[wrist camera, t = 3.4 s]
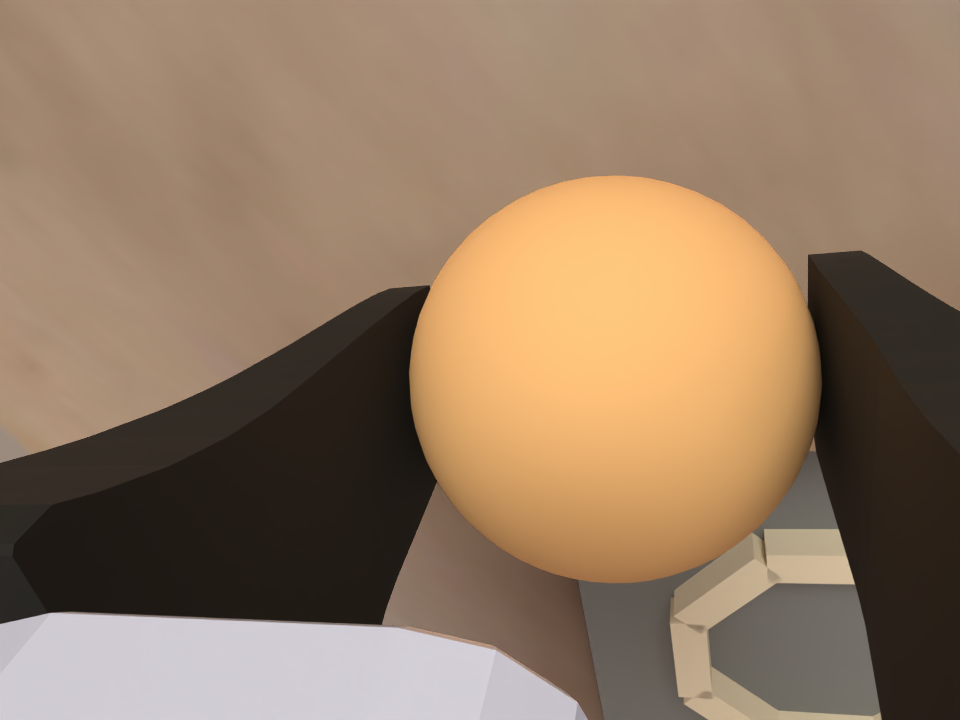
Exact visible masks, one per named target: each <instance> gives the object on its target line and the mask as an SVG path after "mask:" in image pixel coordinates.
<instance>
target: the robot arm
mask: <svg viewBox="0 0 960 720" xmlns="http://www.w3.org/2000/svg"><path fill="white" fill-rule="evenodd" d="M429 292H430V285H428V286H416V287H403V288H391V289H388V290H385V291H383V292H380V293H378V294H376V295H374V296H372V297H370V298H368V299H366V300H364V301H362V302H360V303H359V304H357V305H355V306H353V307H352V308H350V309H348V310H346V311H345V312H343V313H341V314H340V315H338V316H336V317H335V318H333V319H331V320H330V321H328V322H327V323H325V324H323V325H322V326H320V327H318V328H317V329H315V330H313V331H312V332H310V333H308V334H307V335H305V336H303V337H302V338H300V339H298V340H297V341H295V342H294V343H292V344H290V345H288V346H287V347H285V348H283V349H281V350H279V351H278V352H276V353H274V354H272V355H271V356H269V357H267V358H265V359H263V360H262V361H260V362H258V363H256V364H255V365H253V366H251V367H249V368H247V369H246V370H244V371H242V372H240V373H238V374H237V375H235V376H233V377H231V378H229V379H227V380H225V381H223V382H221V383H219V384H217V385H215V386H213V387H211V388H209V389H207V390H205V391H203V392H200V393H198V394H196V395H194V396H192V397H189V398H187V399H185V400H183V401H180V402H178V403H176V404H174V405H172V406H169V407H167V408H164V409H162V410H160V411H157V412H155V413H152V414H149V415H147V416H144V417H141V418H139V419H136V420H133V421H131V422H128V423H125V424H122V425H120V426H117V427H114V428H112V429H109V430H106V431H104V432H101V433H98V434H96V435H93V436H90V437H87V438H84V439H81V440H78V441H75V442H71V443H68V444H65V445H62V446H58V447H55V448H52V449H49V450H46V451H42V452H38V453H35V454H31V455H28V456H24V457H20V458H17V459H13V460H10V461H6V462H2V463H0V720H588V719H587V717H586V716H585V714H584V712H583V711H582V709H581V707H580V706H579V704H578V702H577V701H575V700H574V699H573V698H572V697H571V696H570V695H569V694H567V693H566V692H565V691H564V690H562V689H561V688H559V687H558V686H556V685H554V684H553V683H551V682H550V681H548V680H547V679H545V678H543V677H542V676H540V675H539V674H537V673H536V672H534V671H533V670H531V669H529V668H528V667H526V666H525V665H523V664H522V663H520V662H519V661H517V660H515V659H514V658H512V657H511V656H509V655H508V654H506V653H505V652H503V651H501V650H500V649H498V648H497V647H495V646H493V645H489V644H485V643H480V642H476V641H471V640H467V639H463V638H458V637H454V636H449V635H445V634H441V633H436V632H432V631H427V630H423V629H419V628H414V627H410V626H395V625H382V622H383V618H384V614H385V611H386V608H387V605H388V602H389V599H390V596H391V594H392V591H393V588H394V585H395V582H396V580H397V577H398V575H399V572H400V570H401V568H402V565H403V563H404V560H405V558H406V555H407V553H408V551H409V548H410V546H411V543H412V541H413V539H414V536H415V534H416V531H417V529H418V526H419V524H420V522H421V519H422V517H423V514H424V512H425V510H426V507H427V505H428V502H429V500H430V497H431V495H432V492H433V490H434V487H435V485H436V482H437V480H436V478H435V476H434V474H433V472H432V470H431V468H430V467H429V465H428V463H427V461H426V458H425V455H424V452H423V450H422V447H421V444H420V441H419V438H418V435H417V432H416V429H415V424H414V419H413V414H412V409H411V398H410V379H409V369H410V359H411V350H412V344H413V338H414V333H415V330H416V326H417V322H418V318H419V315H420V312H421V310H422V308H423V305H424V303H425V301H426V299H427V296H428V294H429ZM808 309H809V311H810V314H811V316H812V319H813V321H814V326H815V330H816V334H817V338H818V342H819V349H820V358H821V372H822V392H821V402H820V410H819V417H818V423H817V427H816V430H815V434H814V441H815V448H816V454H817V457H818V461H819V464H820V468H821V471H822V475H823V478H824V482H825V485H826V488H827V492H828V495H829V499H830V502H831V506H832V509H833V512H834V516H835V519H836V522H837V526H838V529H839V532H840V536H841V539H842V542H843V546H844V549H845V553H846V556H847V559H848V563H849V566H850V569H851V573H852V576H853V579H854V583H855V586H856V590H857V593H858V597H859V601H860V605H861V610H862V614H863V618H864V622H865V627H866V632H867V638H868V644H869V649H870V655H871V661H872V666H873V672H874V678H875V684H876V689H877V695H878V701H879V707H880V713H881V719H882V720H960V311H958V310H956V309H954V308H953V307H951V306H949V305H948V304H946V303H944V302H943V301H941V300H939V299H938V298H936V297H934V296H933V295H931V294H929V293H928V292H926V291H925V290H923V289H921V288H920V287H918V286H917V285H915V284H913V283H912V282H910V281H909V280H907V279H906V278H904V277H903V276H901V275H900V274H898V273H897V272H895V271H894V270H892V269H890V268H889V267H887V266H886V265H884V264H883V263H881V262H880V261H878V260H877V259H875V258H873V257H872V256H870V255H868V254H867V253H865V252H863V251H850V252H837V253H825V254H813V255H808Z"/></svg>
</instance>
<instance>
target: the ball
mask: <svg viewBox="0 0 960 720" xmlns="http://www.w3.org/2000/svg"><path fill="white" fill-rule="evenodd" d="M409 379H410V398H411V409H412V414H413V419H414V424H415V429H416V432H417V435H418V438H419V441H420V444H421V447H422V450H423V452H424V455H425V458H426V461H427V463H428V465H429V467H430V468H431V470H432V472H433V474H434V476H435V478H436V480H437V481H438V483H439V484H440V486H441V488H442V489H443V491H444V492H445V494H446V495H447V496H448V498H449V499H450V501H451V502H452V504H453V505H454V506H455V507H456V509H457V510H458V511H459V512H460V513H461V514H462V515H463V517H464V518H465V519H466V520H467V521H468V522H469V523H470V524H472V525H473V526H474V527H475V528H476V529H477V530H478V531H479V532H480V533H482V534H483V535H484V536H485V537H486V538H488V539H489V540H490V541H492V542H493V543H494V544H496V545H497V546H498V547H500V548H501V549H502V550H504V551H506V552H507V553H509V554H511V555H512V556H514V557H516V558H518V559H519V560H521V561H524V562H526V563H528V564H530V565H532V566H534V567H536V568H539V569H542V570H545V571H548V572H550V573H553V574H557V575H560V576H564V577H568V578H572V579H577V580H583V581H590V582H600V583H634V582H643V581H651V580H655V579H660V578H664V577H668V576H672V575H675V574H678V573H681V572H684V571H687V570H690V569H693V568H696V567H698V566H700V565H702V564H705V563H707V562H709V561H711V560H713V559H715V558H717V557H719V556H720V555H722V554H723V553H725V552H726V551H728V550H730V549H731V548H733V547H734V546H735V545H737V544H738V543H740V542H741V541H742V540H744V539H745V538H746V537H747V536H748V535H750V534H751V533H752V532H753V531H754V530H756V529H757V528H758V527H759V526H760V525H761V524H762V523H763V522H764V521H765V520H766V519H767V518H768V517H769V515H770V514H771V513H772V512H773V511H774V510H775V509H776V507H777V506H778V505H779V503H780V502H781V501H782V500H783V498H784V497H785V495H786V494H787V492H788V491H789V489H790V488H791V486H792V485H793V483H794V482H795V480H796V478H797V476H798V474H799V472H800V470H801V468H802V465H803V463H804V461H805V459H806V456H807V454H808V452H809V449H810V447H811V445H812V441H813V438H814V434H815V430H816V427H817V423H818V417H819V410H820V402H821V392H822V372H821V358H820V349H819V342H818V338H817V334H816V330H815V326H814V321H813V319H812V316H811V314H810V311H809V309H808V306H807V304H806V302H805V299H804V297H803V294H802V292H801V290H800V287H799V285H798V283H797V282H796V280H795V278H794V277H793V275H792V274H791V272H790V270H789V269H788V267H787V265H786V264H785V263H784V261H783V260H782V259H781V258H780V257H779V255H778V254H777V253H776V252H775V251H774V249H773V248H772V247H771V246H770V245H769V243H768V242H767V241H766V240H765V239H764V238H763V237H762V235H760V234H759V233H758V232H757V231H756V230H755V229H754V228H753V227H751V226H750V225H749V224H748V223H747V222H746V221H745V220H744V219H742V218H741V217H739V216H738V215H736V214H735V213H733V212H732V211H730V210H729V209H728V208H726V207H725V206H723V205H722V204H720V203H718V202H716V201H714V200H712V199H710V198H708V197H706V196H704V195H702V194H700V193H698V192H695V191H692V190H689V189H686V188H683V187H680V186H677V185H674V184H672V183H668V182H663V181H658V180H654V179H649V178H644V177H631V176H599V177H587V178H581V179H576V180H570V181H565V182H561V183H558V184H555V185H551V186H548V187H545V188H542V189H539V190H537V191H535V192H532V193H530V194H528V195H526V196H524V197H522V198H520V199H517V200H516V201H514V202H513V203H511V204H509V205H508V206H506V207H505V208H503V209H502V210H500V211H499V212H497V213H496V214H494V215H493V216H491V217H490V218H488V219H487V220H486V221H485V222H483V223H482V224H481V225H480V226H479V227H478V228H476V229H475V230H474V231H473V232H472V233H471V234H469V236H468V237H467V238H466V239H465V240H464V241H463V243H462V244H461V245H460V246H459V247H458V248H457V249H456V251H455V252H454V253H453V254H452V256H451V257H450V258H449V259H448V261H447V262H446V263H445V265H444V266H443V268H442V270H441V271H440V273H439V274H438V276H437V278H436V279H435V281H434V283H433V285H432V287H431V289H430V292H429V294H428V296H427V299H426V301H425V303H424V305H423V308H422V310H421V312H420V315H419V318H418V322H417V326H416V330H415V333H414V338H413V344H412V350H411V359H410V369H409Z"/></svg>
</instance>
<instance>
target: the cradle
mask: <svg viewBox="0 0 960 720" xmlns="http://www.w3.org/2000/svg"><path fill="white" fill-rule="evenodd" d="M578 584H579V589H580V594H581V600H582V605H583V610H584V615H585V621H586V626H587V631H588V637H589V642H590V647H591V653H592V658H593V663H594V669H595V674H596V679H597V684H598V690H599V695H600V700H601V706H602V711H603V716H604V720H882V719H881V713H880V707H879V701H878V695H877V689H876V684H875V678H874V672H873V666H872V661H871V655H870V649H869V644H868V638H867V632H866V627H865V622H864V618H863V614H862V610H861V605H860V601H859V597H858V593H857V590H856V586H855V583H854V579H853V576H852V573H851V569H850V566H849V563H848V559H847V556H846V553H845V549H844V546H843V542H842V539H841V536H840V532H839V529H838V526H837V522H836V519H835V516H834V512H833V509H832V506H831V502H830V499H829V495H828V492H827V488H826V485H825V482H824V478H823V475H822V471H821V468H820V464H819V461H818V457H817V454H816V451H809V452H808V454H807V456H806V459H805V461H804V463H803V465H802V468H801V470H800V472H799V474H798V476H797V478H796V480H795V482H794V483H793V485H792V486H791V488H790V489H789V491H788V492H787V494H786V495H785V497H784V498H783V500H782V501H781V502H780V503H779V505H778V506H777V507H776V509H775V510H774V511H773V512H772V513H771V514H770V515H769V517H768V518H767V519H766V520H765V521H764V522H763V523H762V524H761V525H760V526H759V527H758V528H757V529H756V530H754V531H753V532H752V533H751V534H750V535H748V536H747V537H746V538H745V539H744V540H742V541H741V542H740V543H738V544H737V545H735V546H734V547H733V548H731V549H730V550H728V551H726V552H725V553H723V554H722V555H720V556H719V557H717V558H715V559H713V560H711V561H709V562H707V563H705V564H702V565H700V566H698V567H696V568H693V569H690V570H687V571H684V572H681V573H678V574H675V575H672V576H668V577H664V578H660V579H655V580H651V581H643V582H634V583H600V582H590V581H583V580H578Z"/></svg>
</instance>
